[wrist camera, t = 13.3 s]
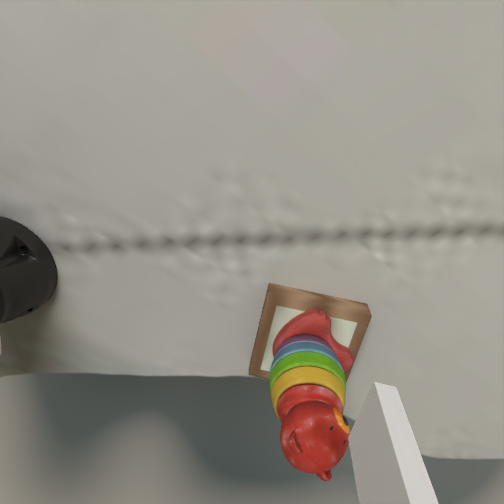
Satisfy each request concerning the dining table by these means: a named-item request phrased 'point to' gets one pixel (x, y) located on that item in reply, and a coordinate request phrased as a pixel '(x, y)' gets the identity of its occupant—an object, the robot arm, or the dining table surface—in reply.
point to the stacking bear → (310, 393)
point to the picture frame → (294, 303)
